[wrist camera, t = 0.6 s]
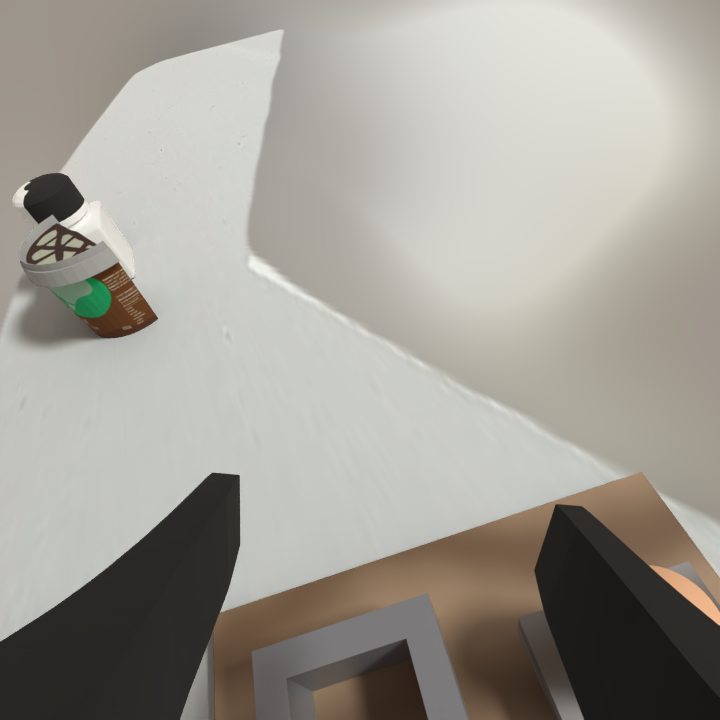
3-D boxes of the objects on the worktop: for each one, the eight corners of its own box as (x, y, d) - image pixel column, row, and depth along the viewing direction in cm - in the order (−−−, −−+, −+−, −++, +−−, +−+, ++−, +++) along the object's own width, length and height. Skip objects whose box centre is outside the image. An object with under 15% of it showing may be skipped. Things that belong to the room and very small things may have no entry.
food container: (63, 322, 54) (-7, 248, 46) (110, 288, 56) (50, 213, 49) (115, 364, 47) (42, 285, 39) (165, 323, 49) (106, 241, 42)
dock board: (912, 860, 18) (981, 873, 15) (234, 1082, 18) (188, 1132, 15) (638, 480, 29) (651, 449, 26) (220, 619, 29) (192, 603, 26)
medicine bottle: (132, 248, 61) (70, 158, 52) (137, 277, 56) (68, 183, 47) (78, 272, 60) (5, 184, 52) (78, 303, 55) (-3, 212, 47)
